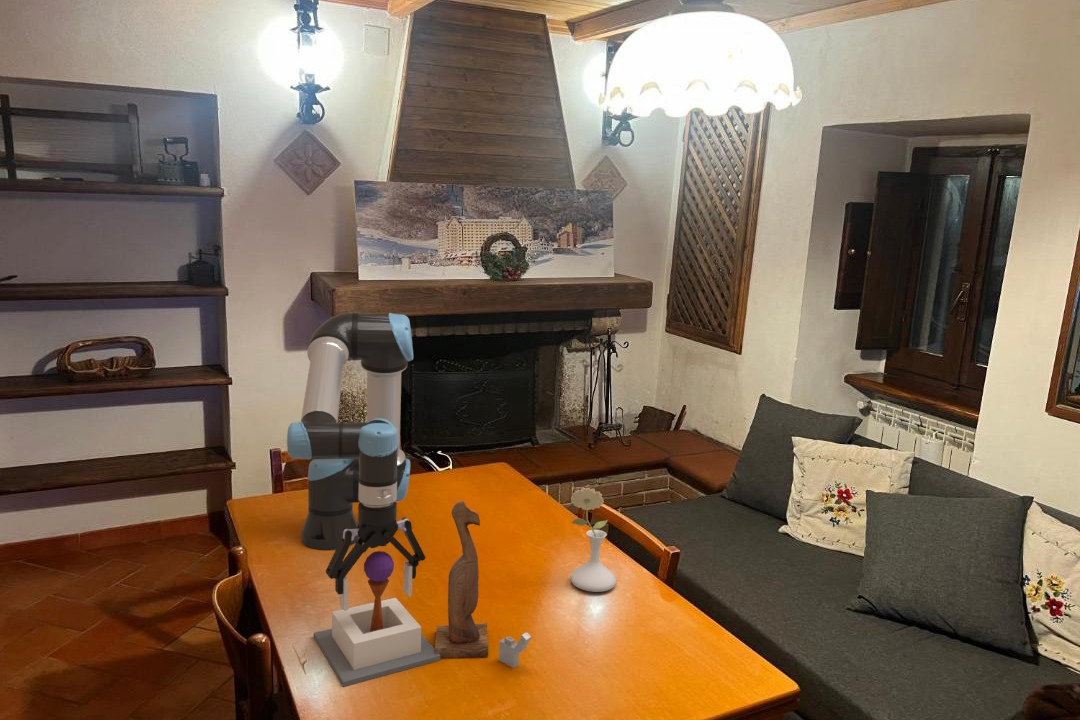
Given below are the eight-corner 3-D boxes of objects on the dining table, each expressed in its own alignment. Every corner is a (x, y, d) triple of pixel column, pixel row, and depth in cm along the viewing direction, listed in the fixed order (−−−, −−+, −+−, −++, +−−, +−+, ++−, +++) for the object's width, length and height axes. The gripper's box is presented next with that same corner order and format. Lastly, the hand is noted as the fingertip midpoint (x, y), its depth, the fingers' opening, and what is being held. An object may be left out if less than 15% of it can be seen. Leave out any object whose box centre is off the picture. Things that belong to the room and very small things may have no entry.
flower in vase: (622, 582, 198) (629, 487, 194) (606, 600, 188) (613, 501, 184) (574, 570, 204) (580, 478, 199) (556, 588, 194) (562, 491, 189)
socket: (313, 637, 166) (313, 608, 165) (402, 616, 176) (403, 589, 175) (343, 686, 149) (343, 655, 148) (440, 660, 160) (441, 630, 159)
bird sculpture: (491, 659, 162) (498, 511, 156) (434, 662, 160) (438, 512, 154) (486, 631, 173) (492, 492, 167) (432, 633, 171) (436, 492, 165)
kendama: (368, 654, 159) (371, 560, 155) (356, 640, 163) (359, 549, 160) (395, 646, 162) (399, 555, 159) (383, 633, 167) (386, 544, 163)
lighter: (498, 660, 161) (499, 624, 159) (504, 656, 162) (505, 621, 161) (524, 674, 156) (526, 637, 155) (530, 670, 158) (532, 633, 156)
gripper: (321, 517, 147) (321, 622, 151) (442, 498, 161) (439, 595, 164) (309, 504, 154) (310, 605, 157) (427, 487, 167) (425, 580, 171)
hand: (376, 600), depth 161 cm, fingers open, 13 cm apart
